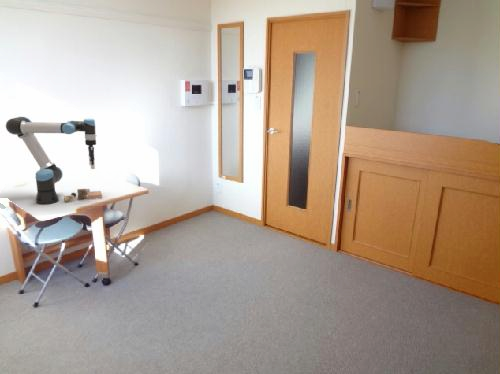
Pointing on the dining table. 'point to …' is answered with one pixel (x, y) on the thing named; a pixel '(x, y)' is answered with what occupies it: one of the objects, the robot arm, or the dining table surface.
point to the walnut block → (81, 194)
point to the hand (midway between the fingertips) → (92, 166)
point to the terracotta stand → (94, 195)
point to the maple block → (69, 198)
